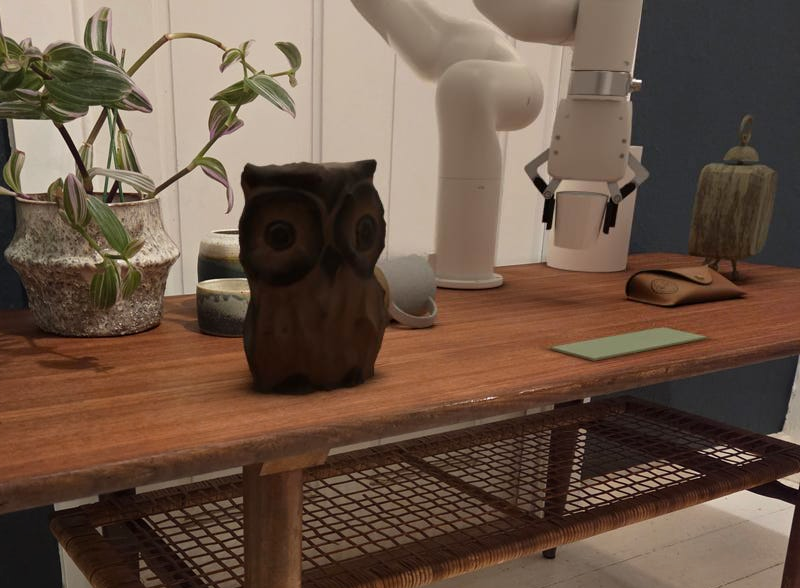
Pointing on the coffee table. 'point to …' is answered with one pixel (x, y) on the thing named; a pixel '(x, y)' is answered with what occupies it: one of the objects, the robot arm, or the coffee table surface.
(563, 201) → the white tapered cup
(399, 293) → the ceramic mug
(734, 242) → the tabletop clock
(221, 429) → the coffee table surface
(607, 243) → the canister
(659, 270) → the sunglasses case
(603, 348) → the edge strip
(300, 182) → the owl
